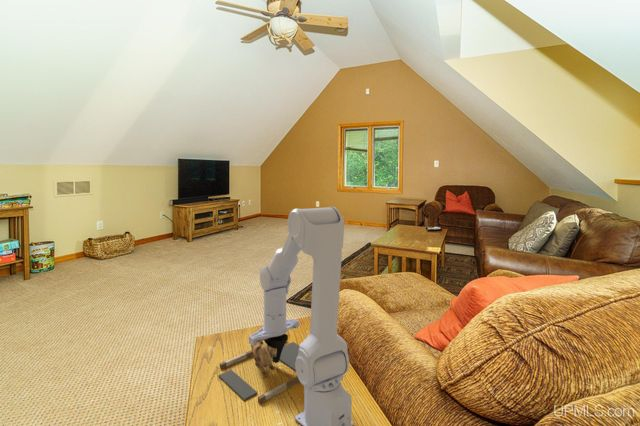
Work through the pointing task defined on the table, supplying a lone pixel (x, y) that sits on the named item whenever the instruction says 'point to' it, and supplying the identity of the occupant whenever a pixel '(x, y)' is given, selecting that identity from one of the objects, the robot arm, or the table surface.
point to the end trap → (237, 384)
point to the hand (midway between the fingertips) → (275, 361)
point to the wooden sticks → (269, 393)
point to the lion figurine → (264, 356)
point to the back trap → (290, 355)
